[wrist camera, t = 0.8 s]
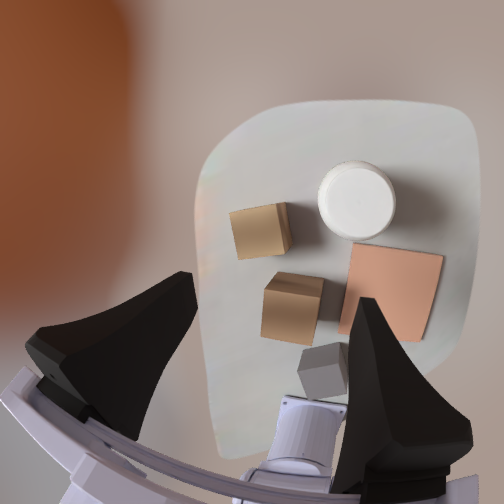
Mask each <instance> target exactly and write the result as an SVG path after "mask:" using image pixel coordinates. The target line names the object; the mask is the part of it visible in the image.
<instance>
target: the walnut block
mask: <svg viewBox="0 0 504 504" xmlns="http://www.w3.org/2000/svg"><path fill="white" fill-rule="evenodd" d="M323 282H324V278H319V277H312V276H305V275H298V274H291V273H284V272H277V273H276V275H275V276H274V277H273V279H272V280H271V281H270V282H269V284H268V285H267V286H266V288H265V289H264V300H263V312H262V324H261V336H260V337H265V338H270V339H275V340H280V341H286V342H291V343H297V344H303V345H309V346H312V342H313V338H314V334H315V329H316V324H317V320H318V314H319V308H320V302H321V295H322V289H323Z"/></svg>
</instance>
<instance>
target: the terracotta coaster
mask: <svg viewBox="0 0 504 504" xmlns="http://www.w3.org/2000/svg"><path fill="white" fill-rule="evenodd" d="M442 260H443V256H442V255H437V254H430V253H424V252H417V251H410V250H404V249H397V248H390V247H383V246H375V245H368V244H361V243H353V247H352V254H351V261H350V268H349V274H348V280H347V286H346V292H345V297H344V302H343V308H342V313H341V318H340V322H339V327H338V333H340V334H347V335H350V331H351V327H352V324H353V320H354V317H355V313H356V310H357V306H358V302H359V299H360V296H361V297H370V298H375V300H376V301H377V303H378V305H379V307H380V309H381V311H382V313H383V315H384V317H385V319H386V320H387V322H388V324H389V326H390V328H391V329H392V331H393V333H394V335H395V336H396V338H397V340H400V341H410V342H420V341H421V338H422V335H423V332H424V329H425V326H426V322H427V319H428V316H429V313H430V309H431V306H432V302H433V299H434V295H435V291H436V287H437V283H438V279H439V274H440V270H441V265H442Z"/></svg>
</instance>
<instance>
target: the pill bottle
mask: <svg viewBox="0 0 504 504" xmlns="http://www.w3.org/2000/svg"><path fill="white" fill-rule="evenodd" d="M318 207H319V211H320V214H321V217H322V219H323V221H324V222H325V224H326V225H327V226H328V227H329V229H330V230H332V231H333V232H334V233H335V234H337V235H338V236H340V237H342V238H345V239H347V240H352V241H365V240H369V239H372V238H374V237H376V236H378V235H380V234H381V233H382V232H383V231H384V230H385V229H386V228H387V227H388V226H389V224H390V223H391V221H392V219H393V216H394V213H395V209H396V196H395V191H394V188H393V186H392V184H391V182H390V180H389V179H388V177H387V176H386V175H385V174H384V172H382V171H381V170H380V169H379V168H377V167H376V166H374V165H372V164H370V163H367V162H363V161H348V162H344V163H341V164H339V165H337V166H335V167H333V168H332V169H331V170H330V171H329V172H328V173H327V174H326V176H325V177H324V179H323V180H322V182H321V185H320V187H319V191H318Z"/></svg>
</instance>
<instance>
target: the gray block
mask: <svg viewBox="0 0 504 504" xmlns="http://www.w3.org/2000/svg"><path fill="white" fill-rule="evenodd" d="M297 372H298V375H299V377H300V380H301V383H302V385H303V388H304V391H305V393H306V396H307V399H308V400H314V399H321V398H327V397H333V396H338V395H343V394H347V376H348V370H347V367H346V363H345V359H344V355H343V352H342V348H341V345H340V342H337V343H332V344H328V345H324V346H319V347H315V348H310V349H305V350H303V353H302V356H301V360H300V363H299V367H298V370H297Z"/></svg>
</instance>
